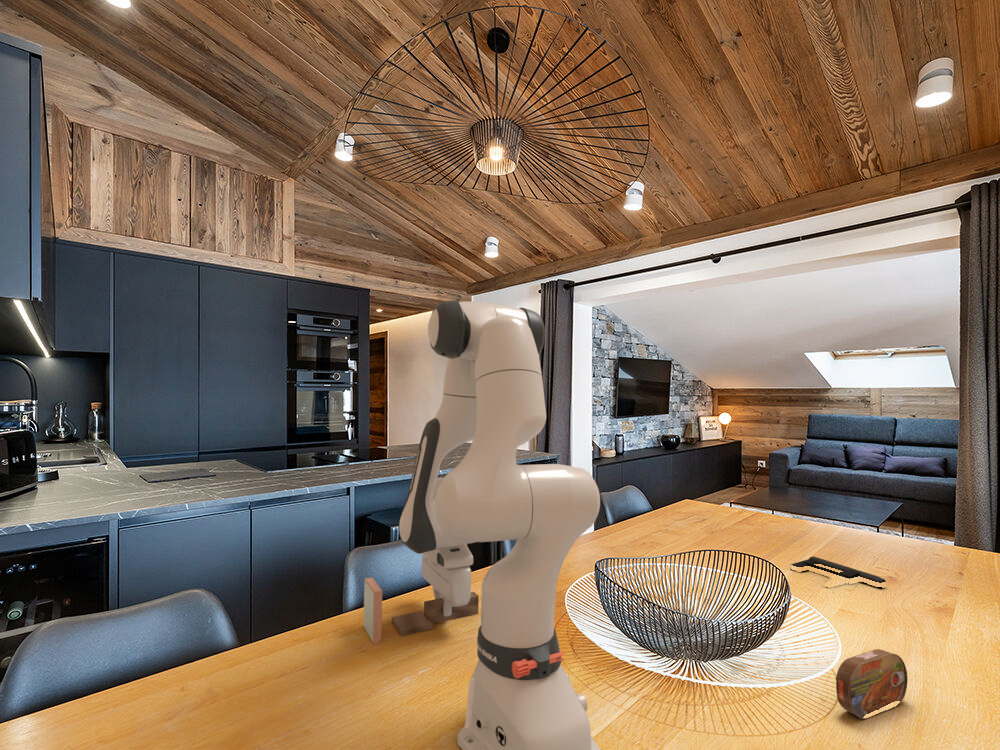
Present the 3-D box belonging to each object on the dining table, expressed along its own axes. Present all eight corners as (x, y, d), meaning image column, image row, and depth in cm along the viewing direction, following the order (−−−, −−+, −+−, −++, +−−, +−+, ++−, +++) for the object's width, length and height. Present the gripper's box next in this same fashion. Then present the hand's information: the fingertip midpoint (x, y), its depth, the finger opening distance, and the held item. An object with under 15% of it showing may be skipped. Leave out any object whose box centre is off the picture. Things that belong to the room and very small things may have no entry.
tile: (381, 641, 101) (382, 590, 101) (372, 643, 100) (373, 592, 100) (371, 624, 108) (372, 577, 108) (363, 626, 107) (364, 578, 107)
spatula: (469, 605, 118) (469, 588, 118) (482, 617, 112) (483, 599, 112) (391, 621, 109) (391, 602, 110) (401, 635, 103) (401, 615, 103)
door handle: (851, 589, 127) (888, 576, 134) (778, 564, 146) (814, 553, 152) (852, 602, 127) (889, 588, 134) (779, 575, 146) (815, 564, 152)
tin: (851, 725, 78) (851, 669, 78) (831, 713, 81) (831, 659, 81) (910, 702, 84) (909, 651, 84) (889, 692, 87) (888, 642, 87)
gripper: (415, 536, 119) (414, 596, 119) (448, 563, 101) (447, 634, 101) (440, 533, 122) (439, 591, 122) (477, 559, 104) (475, 627, 104)
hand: (443, 611), depth 111 cm, fingers closed on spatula, 2 cm apart
